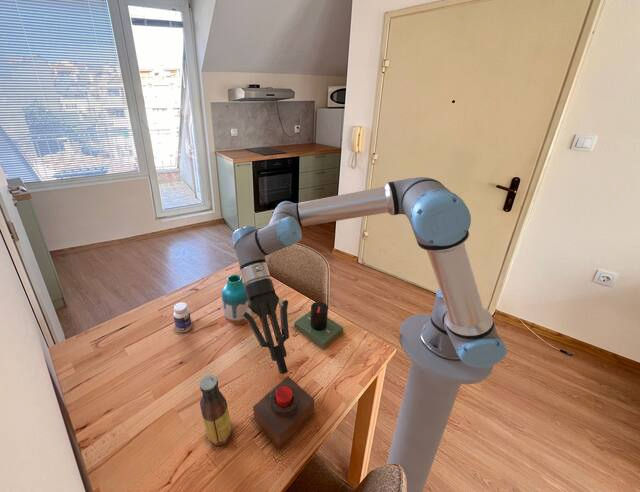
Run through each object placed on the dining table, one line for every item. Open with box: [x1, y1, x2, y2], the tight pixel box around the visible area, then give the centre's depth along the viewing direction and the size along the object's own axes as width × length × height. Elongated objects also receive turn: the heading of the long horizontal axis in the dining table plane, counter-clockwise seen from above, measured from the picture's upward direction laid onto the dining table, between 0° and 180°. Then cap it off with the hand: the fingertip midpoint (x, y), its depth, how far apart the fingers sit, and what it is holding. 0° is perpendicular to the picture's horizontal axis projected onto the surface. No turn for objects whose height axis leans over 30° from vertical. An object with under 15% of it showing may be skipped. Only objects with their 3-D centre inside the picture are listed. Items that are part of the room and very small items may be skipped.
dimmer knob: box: [310, 301, 329, 331], centre depth 105 cm, size 6×6×8 cm
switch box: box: [252, 375, 315, 450], centre depth 78 cm, size 13×10×8 cm
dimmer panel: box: [293, 310, 344, 350], centre depth 108 cm, size 14×11×3 cm
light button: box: [276, 386, 292, 407], centre depth 76 cm, size 4×4×2 cm
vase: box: [221, 274, 249, 325], centre depth 110 cm, size 11×11×19 cm
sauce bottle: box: [199, 374, 232, 446], centre depth 72 cm, size 6×6×20 cm
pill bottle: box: [172, 301, 192, 333], centre depth 108 cm, size 6×6×10 cm
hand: (283, 372), depth 73 cm, fingers closed
